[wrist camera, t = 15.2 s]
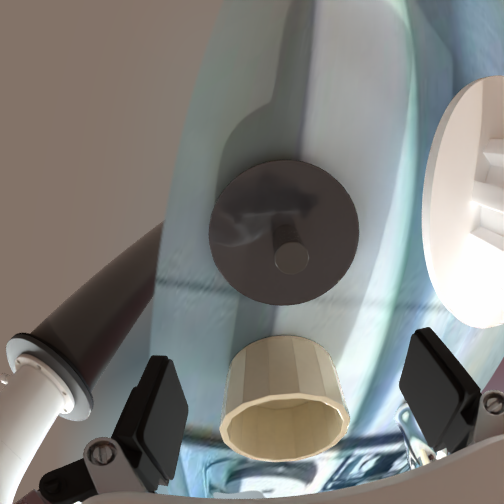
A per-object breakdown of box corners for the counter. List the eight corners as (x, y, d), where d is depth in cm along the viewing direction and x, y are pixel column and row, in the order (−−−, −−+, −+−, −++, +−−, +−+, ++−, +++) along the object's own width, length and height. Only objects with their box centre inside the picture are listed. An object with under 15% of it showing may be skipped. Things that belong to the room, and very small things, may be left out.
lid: (220, 304, 28) (211, 341, 22) (202, 167, 24) (184, 171, 18) (352, 293, 27) (372, 327, 22) (353, 156, 23) (381, 159, 17)
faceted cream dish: (235, 410, 34) (230, 463, 26) (220, 338, 30) (209, 396, 22) (329, 403, 33) (340, 454, 25) (337, 329, 29) (358, 384, 21)
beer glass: (402, 396, 33) (437, 478, 19) (437, 392, 33) (475, 463, 19) (383, 425, 35) (408, 501, 21) (417, 420, 35) (446, 488, 21)
